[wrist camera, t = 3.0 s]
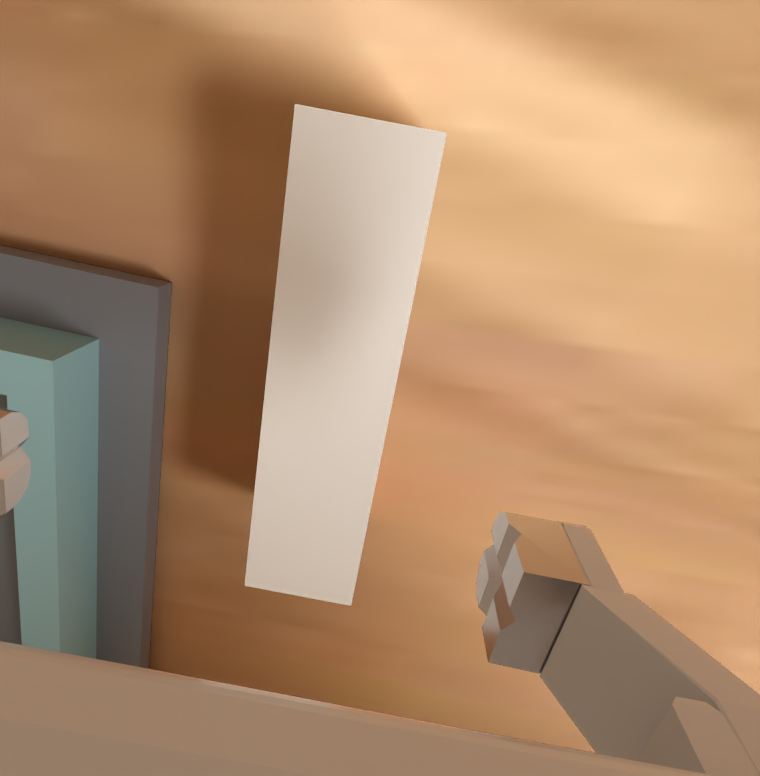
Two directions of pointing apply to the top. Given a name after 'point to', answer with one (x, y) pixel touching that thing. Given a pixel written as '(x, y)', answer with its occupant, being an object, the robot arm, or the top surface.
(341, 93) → the top surface
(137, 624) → the cradle jig
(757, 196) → the top surface
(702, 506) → the top surface
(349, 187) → the long cream plank
